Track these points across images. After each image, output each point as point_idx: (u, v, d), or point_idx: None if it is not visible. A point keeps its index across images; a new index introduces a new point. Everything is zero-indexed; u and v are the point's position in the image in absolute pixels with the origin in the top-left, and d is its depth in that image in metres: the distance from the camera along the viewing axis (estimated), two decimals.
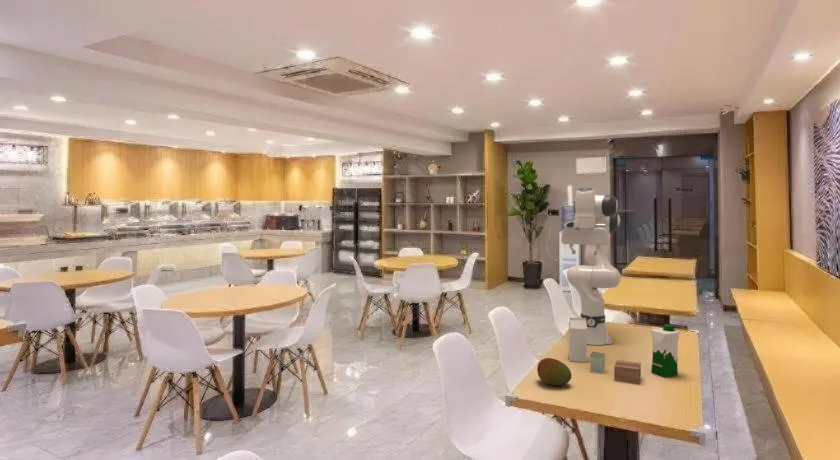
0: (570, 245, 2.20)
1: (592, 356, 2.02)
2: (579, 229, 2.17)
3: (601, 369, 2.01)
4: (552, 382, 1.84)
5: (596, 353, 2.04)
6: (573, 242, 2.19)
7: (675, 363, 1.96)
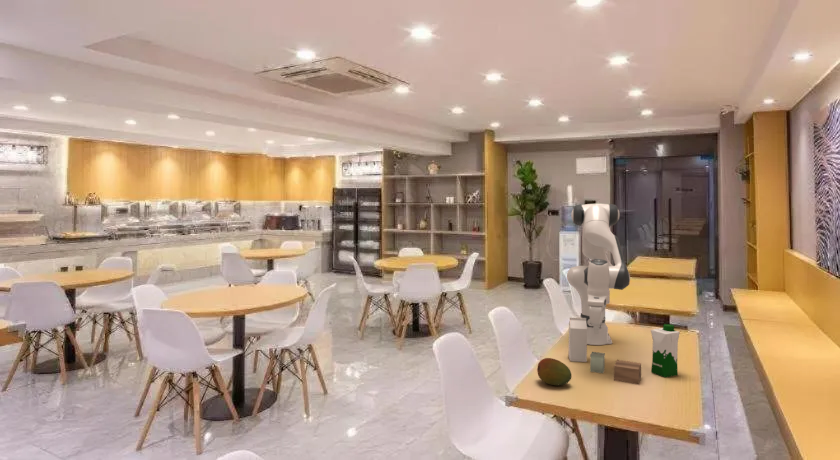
0: (598, 325, 1.97)
1: (592, 356, 2.02)
2: (603, 305, 2.00)
3: (601, 369, 2.01)
4: (552, 382, 1.84)
5: (596, 353, 2.04)
6: (601, 321, 1.98)
7: (675, 363, 1.96)
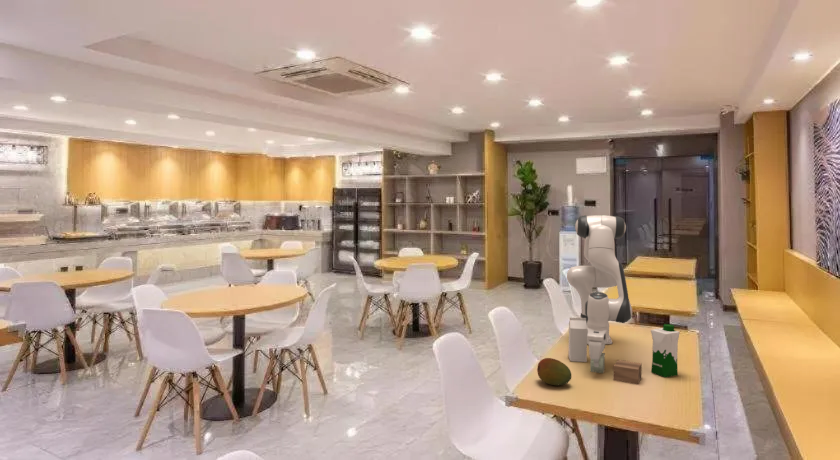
0: None
1: None
2: None
3: (601, 369, 2.01)
4: (552, 382, 1.84)
5: None
6: (600, 355, 1.99)
7: (675, 363, 1.96)
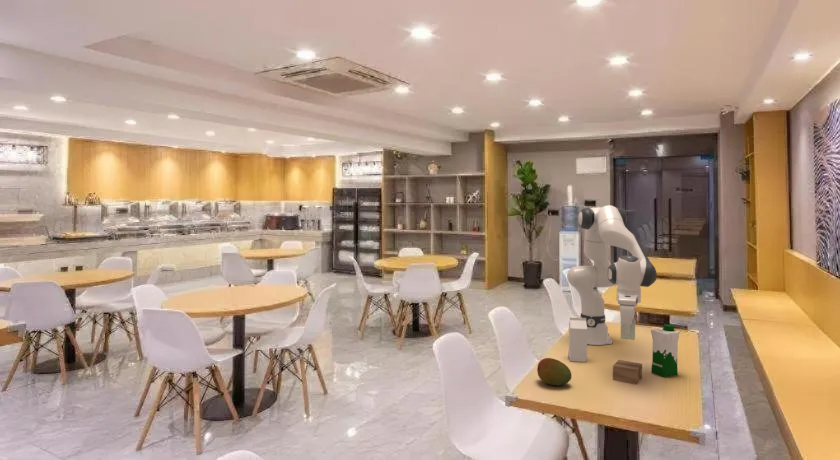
0: None
1: None
2: None
3: (632, 336, 1.90)
4: (552, 382, 1.84)
5: None
6: (632, 320, 1.88)
7: (675, 363, 1.96)
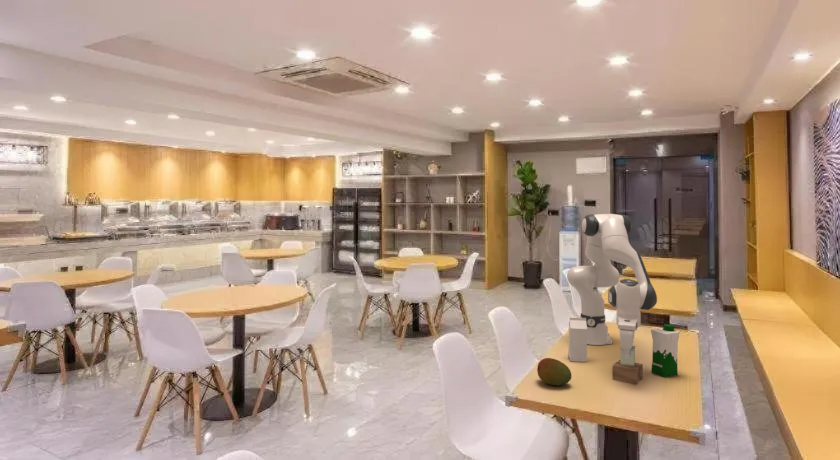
0: None
1: (622, 349, 1.92)
2: None
3: (632, 362, 1.91)
4: (552, 382, 1.84)
5: None
6: None
7: (675, 363, 1.96)
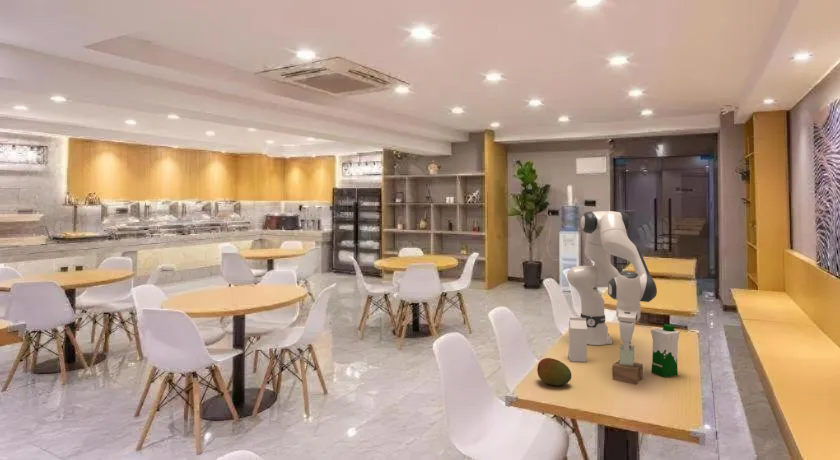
0: None
1: (622, 349, 1.92)
2: None
3: (631, 362, 1.91)
4: (552, 382, 1.84)
5: None
6: None
7: (675, 363, 1.96)
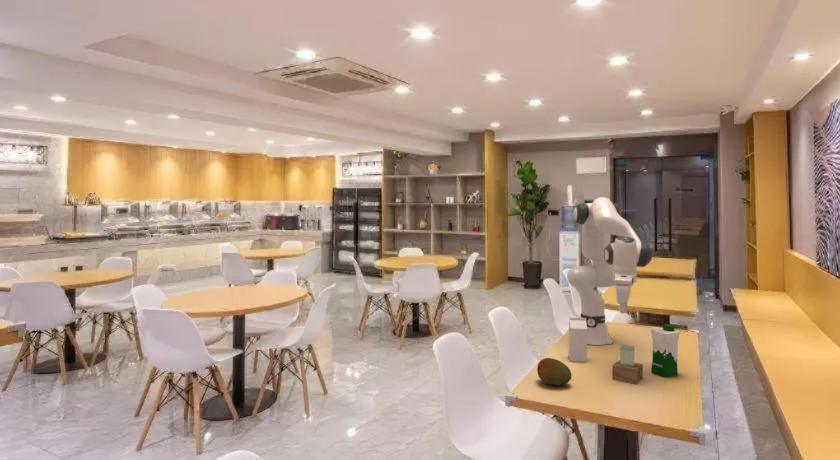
0: (625, 304, 1.92)
1: (622, 349, 1.92)
2: None
3: (632, 362, 1.91)
4: (552, 382, 1.84)
5: (625, 346, 1.95)
6: None
7: (675, 363, 1.96)
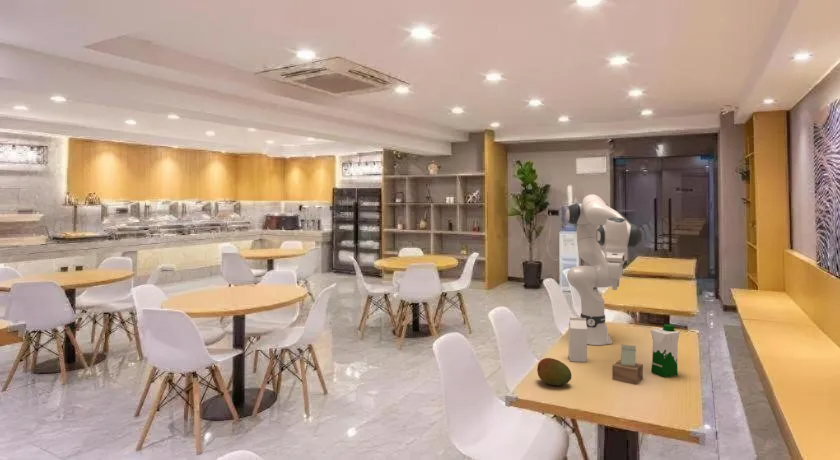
0: (617, 280, 2.01)
1: (624, 349, 1.92)
2: (621, 262, 2.03)
3: (633, 363, 1.91)
4: (552, 382, 1.84)
5: (626, 346, 1.94)
6: (619, 277, 2.02)
7: (675, 363, 1.96)
